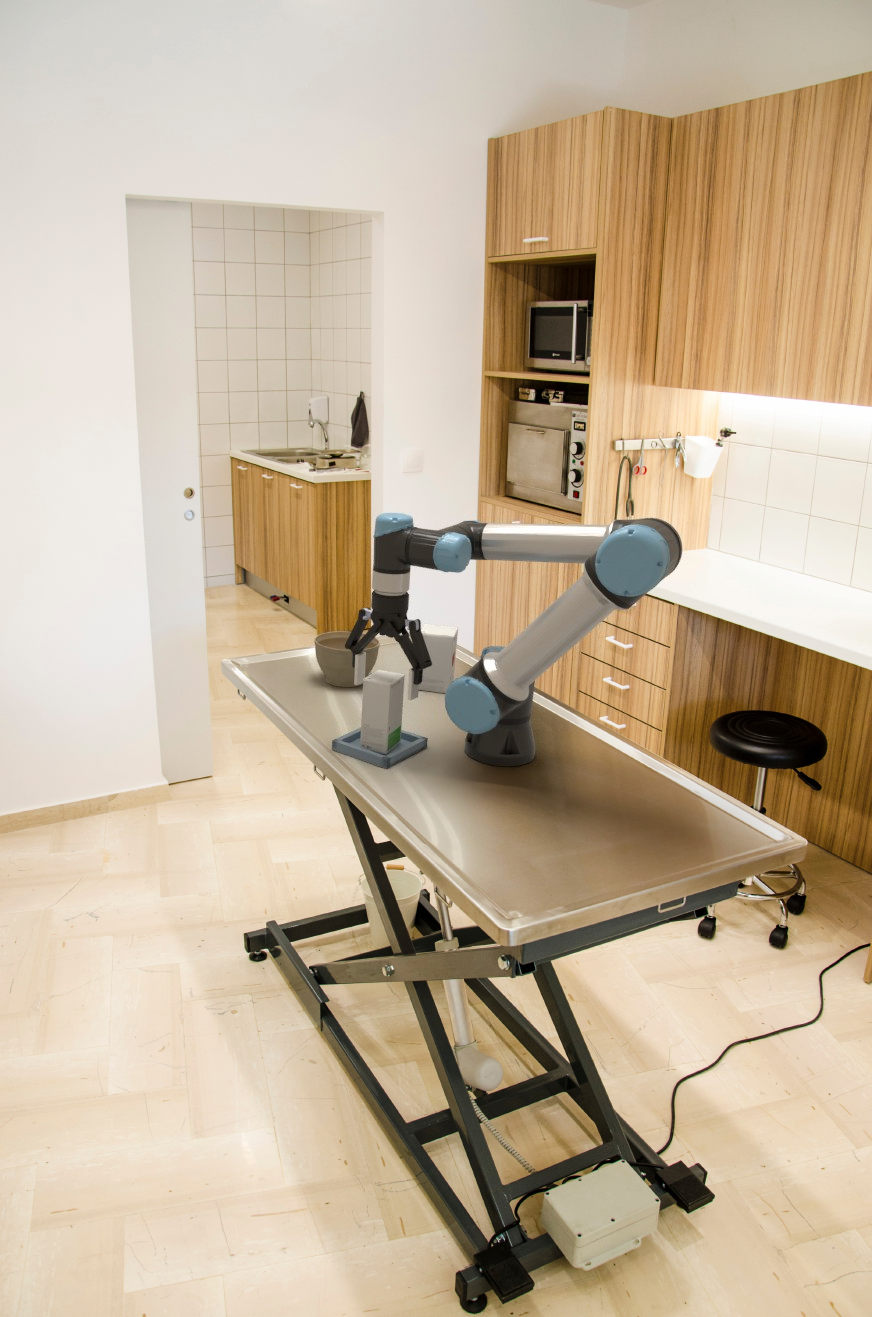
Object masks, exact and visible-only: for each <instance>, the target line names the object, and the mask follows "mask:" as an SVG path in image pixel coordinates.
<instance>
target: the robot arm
mask: <svg viewBox="0 0 872 1317" xmlns="http://www.w3.org/2000/svg"><path fill="white" fill-rule="evenodd" d="M374 524H375V525H374V531H373V532H374V533H373V536H372V537H373V566H372V574H371V575H372V576H371V578H372V580H371V589H372V590H373V591H372V592H371V600H370V602H371V603H370V606H371V608H370V607H365V608H361V609H359V610H358V613H357V620H356V622H355V624H354V626H353V628H352V630H351V631H350V632H351V634H350V636H349V638H348V640H347V642H346V644H345V648H346V649H349V650H351V651H352V653H353V661H352V666H353V668H355V677H354V685H359V684H361V683H363V679H364V678H365V665H366V653H365V652H362V653H361V651H364V649H365V647H366V646H367V645H368V644H369V643H370V642H371V641H372V640H373V639H374V638H375V637H376V636H378V635H379V636H383V637H385V636H386V637H387V638H390V639H394V640H395V641H396V642H397V643H398V644H399V646H400V648H401V649H402V651H403V653H404V655H405V657H406V658H407V659H408V662H409V664H410V666H411V668H409V671H408V684H407V685H408V688H407V689H408V690H407V700H408V701H413V700H414V699H417V698H418V697H419V691H420V690H419V684H421V683H422V676H423V669H425V668H427V667H430V666H432V661H431V659H430V656H429V653H428V650H427V647H426V644H425V641H424V638H423V635H422V632H421V628H422V622H421V620H420V619H419V618H416V619H409V618H408V611H409V604H410V602H409V601H410V594H409V593H408V592H409V590H410V582H411V581H410V580H411V566H412V567H416V568H417V567H418V568H422V569H423V568H424V569H429V570H435V571H441V572H443V573H457V574H458V573H463V572H464V571H465V570H466V568H467V567H468V565H470V564H469V563H470V561H471V560H472V561H476V560H477V561H508V562H509V561H510V562H531V563H532V562H535V563H559V564H560V563H562V564H583V567H582V568H583V574H582V575H581V576H580V577H579V578H577V580H576V581H575V582H573V584H571V586H569V587H568V588H567V589H566V590H565V591H564V592H563V593H562V594H561V595H560V596H558V597H557V598H556V600H554V601H553V602H552V603H551V604H550V605H549V606H548V607H546V609H545V610H543V612H541V613H540V614H539V615H538V616H537V617H536V618H535V619H534V620H533V621H532V622H530V623H529V624H528V625H527V627H525V628H524V629H523V630H522V631H521V632H520V633H518V635H516V636H515V637H514V638H513V639H512V640H511V641H510V642H509V643H508V644H507V645H506V646H501V645H490V646H486V647H484V648H483V649H482V651H481V655H480V657H479V658H480V659H479V660H477V662H476V663H475V664H474V665H472V667H471V668H469V670H467V671H466V672H465V673H464V674H462V676H460V677H457V678H456V679H453V682H452V683H451V685H450V686H449V687H448V689H447V691H446V693H444V694H445V695H444V708H445V711H446V714H447V716H448V717H449V719H450V721H451V722H452V723H453V724H454V725H455V726H456V727H457V728H458V729H459V730H461V731H463V732H465V733H467V734H466V736H465V740H464V747H463V750H464V752H465V754H466V755H467V756H468V757H469V758H471V759H473V760H475V761H477V762H480V763H483V764H486V765H490V766H491V765H492V766H497V767H516V766H523V765H526V764H528V763H531V762H532V761H533V760H534V759H535V755H536V754H535V753H536V742H535V739H534V732H533V729H532V725H531V718H532V717H531V716H532V708H533V700H534V691H535V686H536V685H535V684H536V680H537V679H538V678H539V677H540V676H542V675H543V674H544V673H545V672H547V670H549V669H550V668H551V667H552V666H553V665H555V663H556V662H558V660H559V661H560V659H561V658H562V657H563V656H565V654H566V653H568V652H569V651H570V650H571V649H572V648H573V647H575V646H576V645H577V644H578V643H579V642H581V640H583V639H584V638H585V637H586V636H587V635H588V634H589V633H591V632H592V631H593V630H594V629H595V628H596V627H598V625H600V624H601V623H602V622H603V621H604V620H605V619H606V618H608V617H609V615H611V614H612V613H613V612H615V611H616V610H619V611H627V610H629V609H630V608H632V607H633V606H634V605H635V604H637V603H638V602H639V600H641V599H642V598H643V597H645V595H647V594H648V593H649V592H651V591H652V590H653V589H655V588H656V587H657V586H658V585H659V584H660V583H661V582H662V581H663V580H664V579H665V578H667V577H668V576H670V575H671V574H672V573H674V572H675V570H676V569H677V567H678V565H679V564H680V562H681V559H682V556H683V542H682V538H681V537H680V536H681V535H680V534H679V531H677V530H676V528H675V527H674V526H673V525H672V524H670V523H669V522H667V521H666V520H663V519H660V518H656V517H643V518H636V519H635V518H634V519H632V518H631V519H613V520H612V521H611V523H609V524H575V523H573V524H571V523H570V524H568V523H567V524H565V523H512V522H511V523H509V522H508V523H507V522H488V523H487V522H482V521H479V520H471V519H470V520H463V521H461V522H459V523H456V524H453V525H450V526H447V527H444V528H440V529H428V528H420V527H417V526H415V524H414V518H413V517H412V516H411V515H409V514H405V513H403V512H384V513H380V514H378V515H377V516H376V518H375V522H374ZM371 609H372V610H371ZM369 620H371V622H372V623H373V624H372V625H371V626H370V627H369V628H368V630H367V632H366V633H364V631H365V629H366V627H367V625H368V623H369ZM362 633H364V634H365V635H364V636H363V637H362V638H361V640H360V641H359V639H360V637H361V635H362ZM376 638H377V637H376ZM358 641H359V642H358ZM359 686H360V685H359Z"/></svg>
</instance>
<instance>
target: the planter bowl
mask: <svg viewBox="0 0 872 1317" xmlns="http://www.w3.org/2000/svg"><path fill="white" fill-rule="evenodd" d="M351 632H352V631H345V630H344V631H343V630H342V631H328V632H324V633H320V634H318V635H316V636H315V637H314V640H313V641H314V646H315V647H314V649H315V650H314V651H315V657H316V661H317V663H318V666H319V668H320V671H321V672H322V673H323V674H324V676H325V680H326V682H327V683H328V684H330V685H332V686H336V687H340V688H342V687H343V688H350V687H351V688H353V687H360V686H361V685H362V686H363V683H361V684H359V685H354V677H355V668H353V666H352V661H353V653H352V651H351V650H349V649H346V648H345V644H346V642H347V640H348V638H349V636H350V634H351ZM365 634H366V633H364V632H363V633H362V635H361V637H360V639H359V641H360V640H361V638H362V637H363V636H364V635H365ZM359 641H358V642H359ZM380 645H381V641H380V639H379V638H377V637H375V638H374V639H373V640H372V641H371V642H370V643H369V644H368V645H367V646H366V647H365V649H364V651H361V653H362V652H365V653H366V665H365V678H366V677H368V676H369V674H371V672H372V670H373V668H374V667H375V665H376V662H377V659H378V655H379V649H380Z"/></svg>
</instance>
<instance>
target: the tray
mask: <svg viewBox="0 0 872 1317" xmlns="http://www.w3.org/2000/svg"><path fill="white" fill-rule="evenodd" d="M360 737H361V727H359V728H356V729H354V730H352V731H350V732H347V733H346V734H343V735H341V736H339V737H337V738H335V739H333V740H331V741H332V742H331V750H332V751H334V750H336V751H335V752H337V751H338V753H340V754H342V755H343V754H344V756H348V757H351V758H354V759H357V760H358V761H363V762H365V763H369V764H371V765H374V766H375V767H376V766H377V767H380V768H382V769H385V770H387V769H389V768H391V767H394V766H395V765H396V764H398V763H400V762H402V761H404V760H406V759H408V758H409V757H411V756H412V757H413V755H416V754H417V753H418V752H421V751H423V750H424V749H426V748H428V743H429V742H428V741H429V740H428V737H425V736H422V735H419V734H416V733H414V732H413V733H412V732H410V731H407V730H404V729H401V742H400V744H398V745H397V746H396V747H395V748H393V749H392V750H391V751H390V752H389V753H388V754H380V753H375V752H372V751H370V750H367V749H364V748H361V747H360Z"/></svg>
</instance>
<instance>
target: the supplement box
mask: <svg viewBox="0 0 872 1317" xmlns="http://www.w3.org/2000/svg"><path fill="white" fill-rule="evenodd" d="M421 632H422V635H423V638H424V641H425V644H426V647H427V650H428V653H429V656H430V659H431V661H432V666H430V667H427V668H425V669H423V676H422V683H421V684H419V691H425V692H432V693H433V692H434V693H439V694H440V693H441V694H446V691H447V689H448V687H449V686H450V685H451V683H452V682H453V681H454V678H455V665H456V655H457V643H458V634H459V627H456V626H449V625H440V624H432V623H424V624H423V625H422V626H421Z"/></svg>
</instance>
